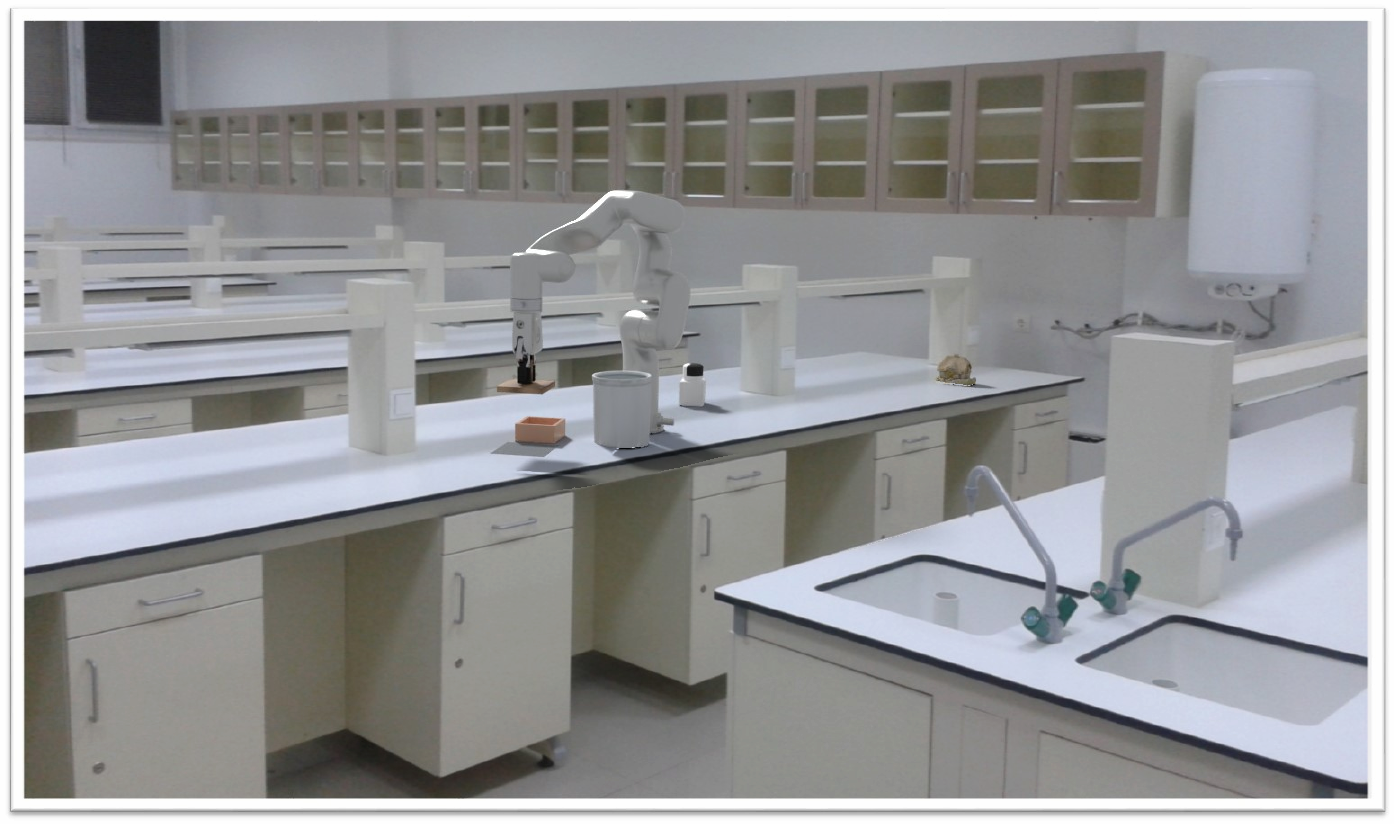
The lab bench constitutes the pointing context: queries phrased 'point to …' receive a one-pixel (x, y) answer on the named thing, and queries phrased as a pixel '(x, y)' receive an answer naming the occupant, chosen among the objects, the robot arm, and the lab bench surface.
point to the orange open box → (540, 429)
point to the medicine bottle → (692, 386)
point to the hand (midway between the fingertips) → (526, 381)
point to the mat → (524, 449)
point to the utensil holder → (621, 408)
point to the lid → (526, 385)
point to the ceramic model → (955, 370)
